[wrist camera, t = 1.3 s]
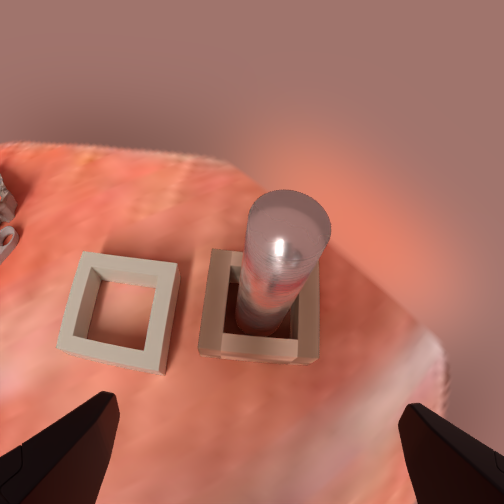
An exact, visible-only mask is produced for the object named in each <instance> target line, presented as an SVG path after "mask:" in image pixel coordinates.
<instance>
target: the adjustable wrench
mask: <svg viewBox="0 0 504 504" xmlns="http://www.w3.org/2000/svg"><path fill="white" fill-rule="evenodd" d="M10 234H13V237H12V239H11V240H10V242H9V243H8V244H7V245H5V246H3V242H4V240H5V238H6V237H7V236H8V235H10ZM18 241H19V235H18V233H17V232H16V231H15V229H14V228H13V227H12V226H6V227H4V228H3V229H2V230H0V265H1V264H2V262H3V261H4V260H5V259H6V258H7V257H8V255H9V254H10V253H11V252H12V251H13V250H14V249H15V247H16V246H17V244H18Z"/></svg>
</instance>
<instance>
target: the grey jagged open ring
mask: <svg viewBox="0 0 504 504" xmlns="http://www.w3.org/2000/svg"><path fill="white" fill-rule="evenodd" d="M0 196H1V197H2V198H1V200H0V223H2V222H4V221H6V222H8V223H9V222H10V221H11V220H12V219H13V218H14V217H15V215H14V212H15V209H16V207H17V202H16V200H15V198H14V196H13V195H12V194H11V193H10V191H9V190H7V188H6V186H5V185H4V183H3V179H2V177H1V174H0Z"/></svg>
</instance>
